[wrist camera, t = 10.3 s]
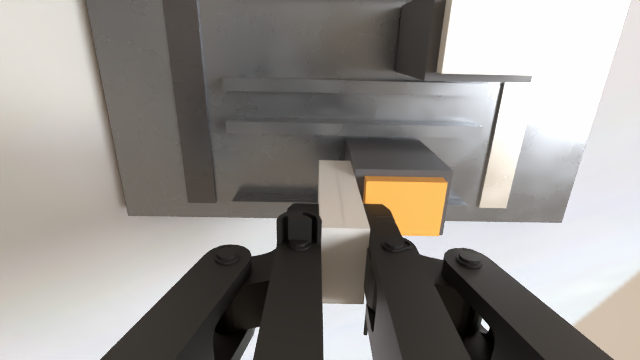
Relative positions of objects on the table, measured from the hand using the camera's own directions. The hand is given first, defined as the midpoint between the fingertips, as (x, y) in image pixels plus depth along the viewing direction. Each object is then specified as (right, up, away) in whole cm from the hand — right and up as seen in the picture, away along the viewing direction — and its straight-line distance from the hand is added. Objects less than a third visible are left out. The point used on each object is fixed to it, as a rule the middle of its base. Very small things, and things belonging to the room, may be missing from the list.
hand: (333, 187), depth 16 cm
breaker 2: (+5, +7, 0) cm, 9 cm away
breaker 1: (+3, +1, +3) cm, 4 cm away
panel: (+1, +8, +1) cm, 8 cm away
